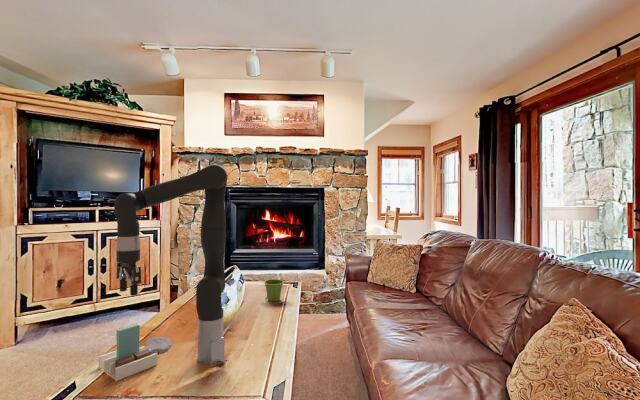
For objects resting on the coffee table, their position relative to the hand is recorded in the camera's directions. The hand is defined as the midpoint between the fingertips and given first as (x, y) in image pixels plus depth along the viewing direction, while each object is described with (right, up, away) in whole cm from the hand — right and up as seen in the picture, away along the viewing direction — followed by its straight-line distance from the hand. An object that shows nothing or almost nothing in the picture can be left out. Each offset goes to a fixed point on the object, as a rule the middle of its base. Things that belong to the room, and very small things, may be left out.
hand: (128, 293), depth 124 cm
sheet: (0, -26, 0) cm, 26 cm away
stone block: (+4, -28, +15) cm, 32 cm away
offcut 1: (+2, -27, -5) cm, 27 cm away
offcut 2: (+5, -27, 0) cm, 27 cm away
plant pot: (+41, -27, +84) cm, 97 cm away
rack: (0, -28, 0) cm, 28 cm away
